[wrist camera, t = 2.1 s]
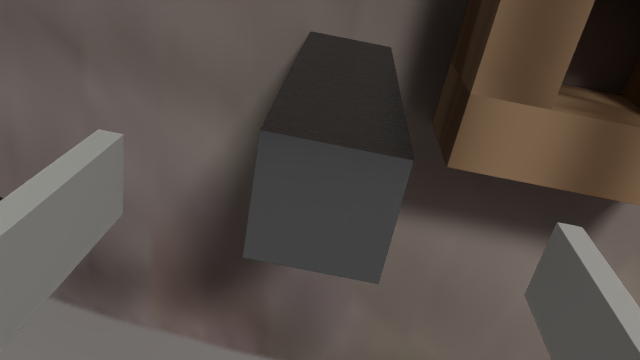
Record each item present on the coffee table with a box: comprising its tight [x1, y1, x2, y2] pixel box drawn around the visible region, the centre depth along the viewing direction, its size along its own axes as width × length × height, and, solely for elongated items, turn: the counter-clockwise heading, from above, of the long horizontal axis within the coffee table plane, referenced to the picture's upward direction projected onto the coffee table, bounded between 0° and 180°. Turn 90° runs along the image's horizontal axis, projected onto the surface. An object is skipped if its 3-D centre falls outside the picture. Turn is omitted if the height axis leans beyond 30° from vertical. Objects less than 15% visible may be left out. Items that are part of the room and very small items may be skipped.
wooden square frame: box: [432, 0, 640, 205], centre depth 24 cm, size 13×13×6 cm
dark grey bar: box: [243, 32, 414, 284], centre depth 22 cm, size 4×4×15 cm
